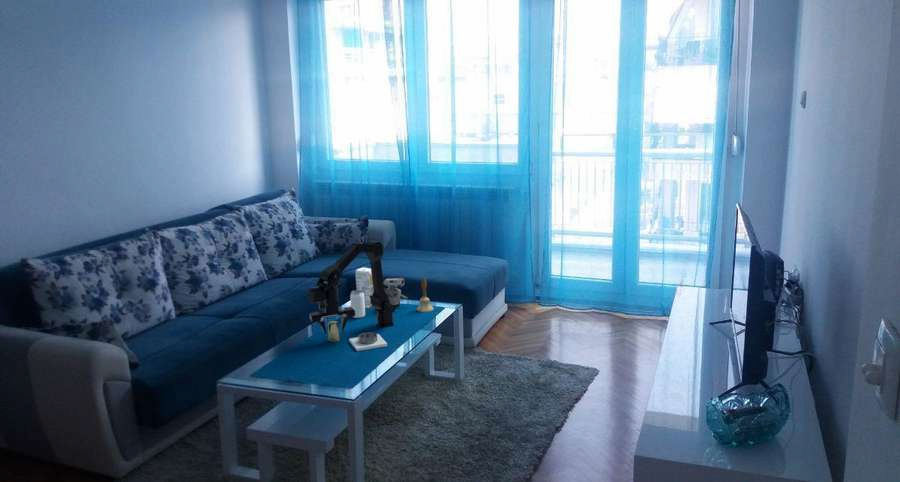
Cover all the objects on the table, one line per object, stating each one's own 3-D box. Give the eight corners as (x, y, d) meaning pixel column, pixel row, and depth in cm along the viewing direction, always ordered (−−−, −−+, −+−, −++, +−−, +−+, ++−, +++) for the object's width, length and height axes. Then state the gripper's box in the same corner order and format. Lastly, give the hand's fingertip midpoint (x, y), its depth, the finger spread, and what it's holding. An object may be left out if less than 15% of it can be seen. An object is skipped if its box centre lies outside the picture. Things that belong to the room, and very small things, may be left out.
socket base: (378, 336, 300) (378, 334, 300) (387, 346, 288) (387, 343, 288) (349, 341, 295) (349, 338, 295) (356, 351, 284) (356, 348, 283)
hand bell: (433, 311, 332) (432, 279, 329) (416, 312, 333) (414, 280, 329) (433, 306, 340) (432, 275, 337) (417, 307, 341) (415, 275, 337)
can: (366, 314, 332) (365, 290, 330) (363, 318, 326) (362, 293, 324) (353, 314, 333) (351, 290, 331) (350, 318, 327) (348, 293, 324)
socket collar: (374, 336, 296) (373, 331, 296) (379, 342, 290) (378, 337, 289) (356, 339, 294) (356, 334, 293) (361, 345, 287) (361, 339, 286)
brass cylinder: (338, 337, 300) (336, 320, 299) (340, 341, 296) (339, 323, 295) (328, 339, 299) (326, 321, 297) (330, 342, 295) (329, 324, 293)
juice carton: (368, 309, 340) (366, 271, 336) (355, 306, 344) (353, 269, 340) (378, 305, 346) (376, 268, 342) (365, 302, 351) (363, 266, 347)
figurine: (401, 311, 334) (399, 281, 331) (381, 309, 339) (379, 279, 336) (410, 306, 342) (409, 277, 339) (390, 304, 347) (389, 275, 344)
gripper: (348, 291, 304) (350, 324, 308) (305, 296, 298) (308, 331, 301) (354, 297, 294) (356, 332, 298) (310, 303, 288) (313, 339, 291)
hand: (333, 333), depth 297 cm, fingers open, 7 cm apart
